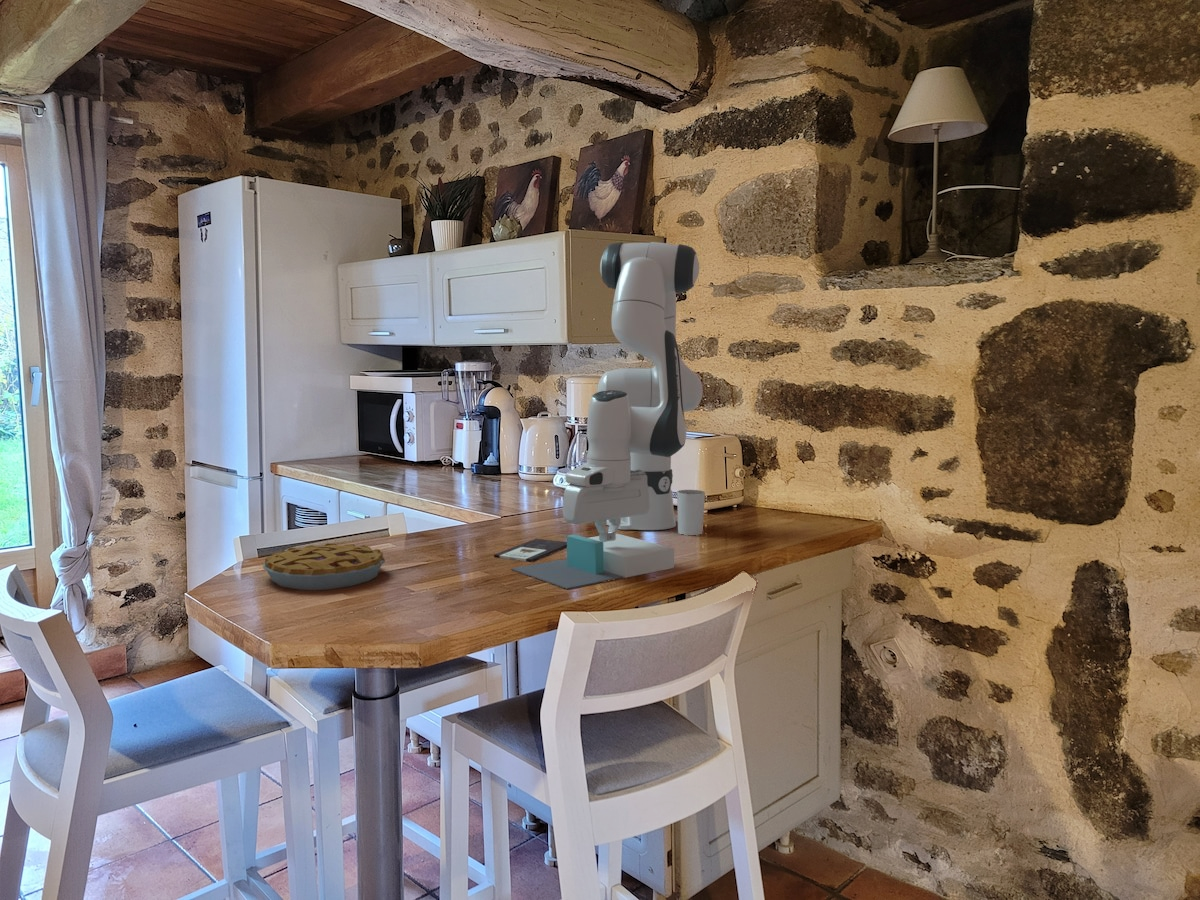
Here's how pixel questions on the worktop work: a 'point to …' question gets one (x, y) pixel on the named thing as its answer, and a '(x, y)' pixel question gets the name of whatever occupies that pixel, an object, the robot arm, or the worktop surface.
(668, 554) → the grey flat block
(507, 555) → the chocolate bar
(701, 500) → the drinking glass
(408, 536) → the worktop surface
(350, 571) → the pie
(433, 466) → the worktop surface
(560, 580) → the mat
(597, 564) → the teal block
